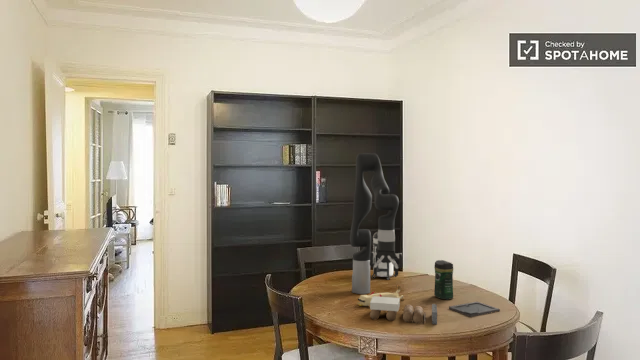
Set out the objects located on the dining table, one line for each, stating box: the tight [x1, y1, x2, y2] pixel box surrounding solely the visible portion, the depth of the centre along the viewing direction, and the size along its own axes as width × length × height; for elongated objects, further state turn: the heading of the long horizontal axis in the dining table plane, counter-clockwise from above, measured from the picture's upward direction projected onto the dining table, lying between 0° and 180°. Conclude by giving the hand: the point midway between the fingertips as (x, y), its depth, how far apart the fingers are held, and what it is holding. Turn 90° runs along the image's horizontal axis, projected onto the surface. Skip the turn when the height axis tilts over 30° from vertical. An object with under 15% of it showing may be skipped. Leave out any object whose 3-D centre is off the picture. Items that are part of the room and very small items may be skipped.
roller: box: [413, 305, 424, 324], centre depth 193 cm, size 4×12×4 cm
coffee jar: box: [433, 259, 454, 300], centre depth 226 cm, size 10×8×19 cm
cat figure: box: [357, 284, 405, 307], centre depth 216 cm, size 10×9×25 cm
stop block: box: [431, 303, 438, 325], centre depth 191 cm, size 2×12×5 cm, turn 166°
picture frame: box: [448, 301, 501, 318], centre depth 205 cm, size 13×2×18 cm
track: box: [369, 304, 427, 325], centre depth 195 cm, size 23×12×4 cm, turn 76°
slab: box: [369, 296, 401, 312], centre depth 196 cm, size 12×10×3 cm
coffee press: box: [371, 231, 395, 281], centre depth 268 cm, size 17×16×30 cm
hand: (386, 276), depth 197 cm, fingers open, 8 cm apart
